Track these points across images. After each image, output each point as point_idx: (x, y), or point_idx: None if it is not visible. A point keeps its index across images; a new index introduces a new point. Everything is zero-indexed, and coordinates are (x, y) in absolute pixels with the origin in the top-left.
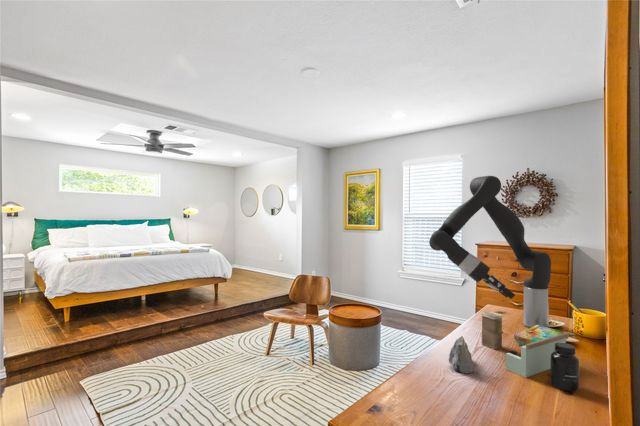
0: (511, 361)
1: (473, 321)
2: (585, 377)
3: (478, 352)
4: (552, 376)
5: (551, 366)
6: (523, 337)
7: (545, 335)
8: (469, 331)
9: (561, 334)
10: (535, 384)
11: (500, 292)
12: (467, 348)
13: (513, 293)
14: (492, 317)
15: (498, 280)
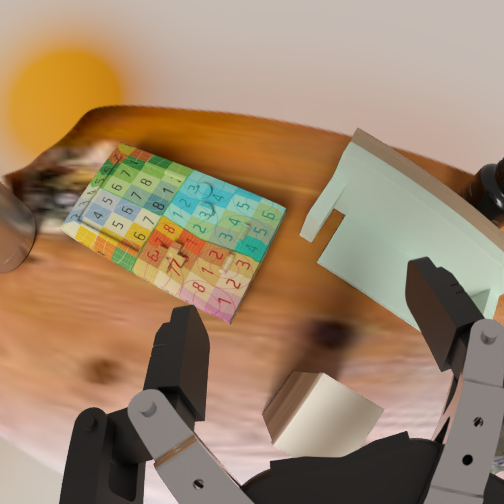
0: None
1: (34, 448)
2: None
3: (383, 434)
4: None
5: (500, 228)
6: (245, 287)
7: (202, 206)
8: (161, 483)
9: (385, 149)
10: None
11: (205, 399)
12: None
13: (432, 264)
14: (375, 418)
15: (499, 425)
